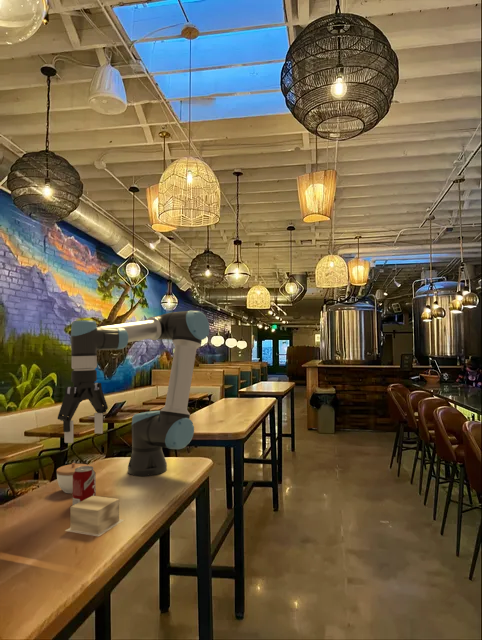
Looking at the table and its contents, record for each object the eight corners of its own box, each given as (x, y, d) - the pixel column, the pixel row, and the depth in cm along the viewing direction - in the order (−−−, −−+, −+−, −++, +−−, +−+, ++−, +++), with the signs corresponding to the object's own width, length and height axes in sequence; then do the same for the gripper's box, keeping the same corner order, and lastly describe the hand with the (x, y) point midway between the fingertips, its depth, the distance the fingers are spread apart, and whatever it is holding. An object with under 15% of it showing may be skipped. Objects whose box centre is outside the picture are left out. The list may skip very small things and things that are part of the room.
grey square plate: (88, 514, 131) (88, 510, 131) (129, 520, 126) (129, 516, 126) (53, 533, 118) (53, 529, 118) (97, 541, 113) (97, 537, 113)
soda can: (77, 513, 132) (77, 473, 133) (69, 507, 137) (69, 468, 138) (99, 507, 137) (99, 468, 137) (90, 502, 142) (90, 464, 142)
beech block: (92, 516, 127) (92, 495, 127) (119, 520, 123) (119, 499, 124) (70, 529, 118) (70, 506, 118) (97, 534, 115) (97, 510, 115)
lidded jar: (57, 487, 157) (57, 461, 157) (89, 483, 160) (88, 457, 161) (55, 497, 146) (55, 468, 147) (90, 493, 150) (89, 465, 151)
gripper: (100, 366, 152) (100, 429, 151) (44, 372, 128) (44, 446, 127) (118, 366, 149) (118, 430, 148) (64, 372, 126) (65, 447, 125)
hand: (84, 437), depth 138 cm, fingers open, 13 cm apart
